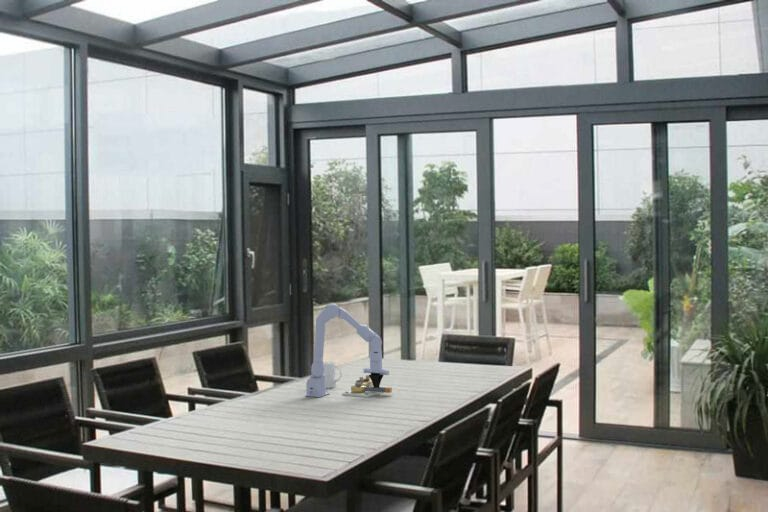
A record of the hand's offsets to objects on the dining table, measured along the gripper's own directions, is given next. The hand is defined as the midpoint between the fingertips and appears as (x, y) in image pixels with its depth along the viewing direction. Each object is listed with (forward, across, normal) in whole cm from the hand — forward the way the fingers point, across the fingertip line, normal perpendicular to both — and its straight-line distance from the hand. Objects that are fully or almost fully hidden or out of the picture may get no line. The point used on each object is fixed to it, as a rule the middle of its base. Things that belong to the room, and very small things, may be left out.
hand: (376, 389), depth 422 cm
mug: (+2, +31, 0) cm, 31 cm away
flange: (+2, +4, +4) cm, 6 cm away
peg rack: (+2, +17, -11) cm, 20 cm away
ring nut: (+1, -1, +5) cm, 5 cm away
